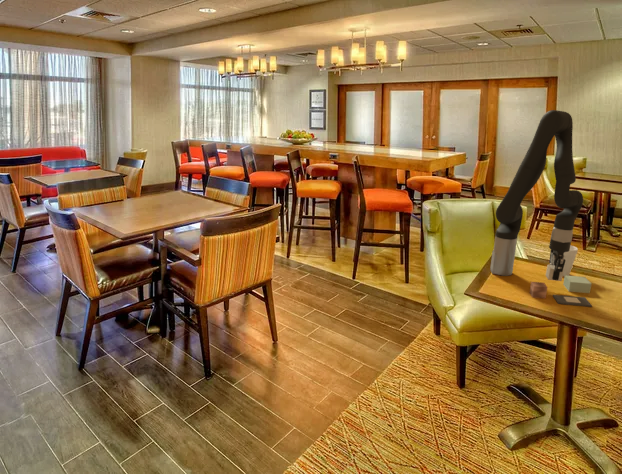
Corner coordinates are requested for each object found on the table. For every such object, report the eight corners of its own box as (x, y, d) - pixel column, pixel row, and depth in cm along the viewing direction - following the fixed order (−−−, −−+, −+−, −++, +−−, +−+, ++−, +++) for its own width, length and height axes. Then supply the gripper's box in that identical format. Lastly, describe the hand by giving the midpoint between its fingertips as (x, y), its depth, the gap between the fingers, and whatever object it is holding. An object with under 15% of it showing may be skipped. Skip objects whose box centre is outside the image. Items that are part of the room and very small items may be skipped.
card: (558, 303, 182) (558, 302, 182) (552, 295, 189) (552, 294, 189) (591, 306, 179) (592, 305, 179) (584, 298, 187) (585, 297, 187)
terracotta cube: (532, 297, 188) (534, 286, 187) (529, 292, 193) (531, 281, 191) (545, 298, 187) (547, 287, 185) (542, 293, 192) (544, 282, 190)
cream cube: (548, 279, 192) (550, 268, 191) (545, 275, 197) (547, 264, 196) (561, 281, 191) (563, 269, 190) (558, 276, 196) (560, 265, 195)
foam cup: (577, 277, 210) (582, 250, 206) (556, 277, 210) (561, 250, 206) (566, 270, 219) (570, 244, 215) (546, 270, 219) (550, 243, 215)
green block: (568, 291, 194) (570, 281, 193) (563, 284, 202) (564, 275, 201) (589, 293, 193) (591, 283, 191) (583, 286, 200) (585, 276, 199)
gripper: (547, 233, 197) (540, 270, 202) (555, 242, 183) (547, 282, 188) (566, 234, 195) (558, 272, 200) (576, 244, 182) (568, 284, 187)
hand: (553, 277), depth 194 cm, fingers closed on cream cube, 5 cm apart
